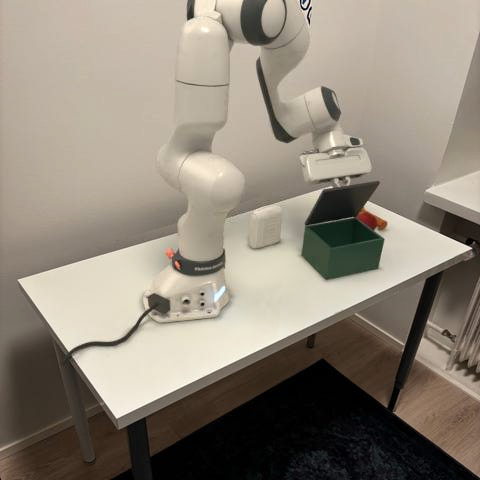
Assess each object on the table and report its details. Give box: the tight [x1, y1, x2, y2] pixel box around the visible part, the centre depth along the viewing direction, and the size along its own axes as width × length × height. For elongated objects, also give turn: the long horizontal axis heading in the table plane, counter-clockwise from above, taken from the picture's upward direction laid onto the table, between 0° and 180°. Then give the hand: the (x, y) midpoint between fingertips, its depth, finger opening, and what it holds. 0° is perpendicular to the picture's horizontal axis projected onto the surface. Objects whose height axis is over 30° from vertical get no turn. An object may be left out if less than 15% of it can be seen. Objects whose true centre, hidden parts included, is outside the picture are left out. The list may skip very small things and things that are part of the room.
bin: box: [300, 217, 386, 281], centre depth 146 cm, size 15×18×10 cm
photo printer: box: [249, 204, 283, 249], centre depth 153 cm, size 10×4×12 cm, turn 123°
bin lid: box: [304, 180, 381, 227], centre depth 141 cm, size 15×18×1 cm
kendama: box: [360, 206, 388, 231], centre depth 172 cm, size 6×6×20 cm
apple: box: [356, 212, 377, 231], centre depth 161 cm, size 8×8×8 cm
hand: (344, 194), depth 139 cm, fingers closed, pressing on bin lid
